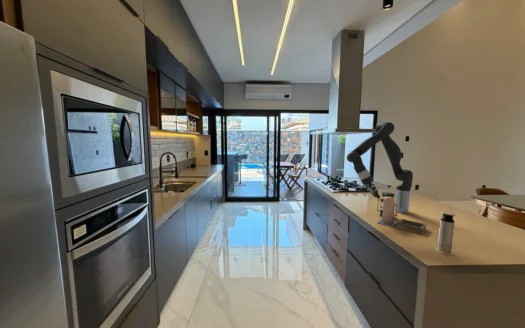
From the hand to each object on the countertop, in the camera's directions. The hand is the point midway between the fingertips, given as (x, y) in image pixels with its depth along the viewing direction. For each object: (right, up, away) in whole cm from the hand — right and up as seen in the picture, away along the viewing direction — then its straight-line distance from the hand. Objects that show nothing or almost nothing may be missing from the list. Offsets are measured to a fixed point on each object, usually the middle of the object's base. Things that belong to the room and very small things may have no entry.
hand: (377, 197), depth 157 cm
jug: (+5, -16, -6) cm, 18 cm away
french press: (+11, -15, +9) cm, 21 cm away
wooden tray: (+14, -18, -15) cm, 27 cm away
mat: (+4, -16, -5) cm, 18 cm away
